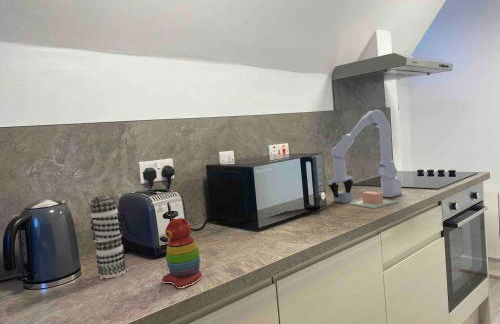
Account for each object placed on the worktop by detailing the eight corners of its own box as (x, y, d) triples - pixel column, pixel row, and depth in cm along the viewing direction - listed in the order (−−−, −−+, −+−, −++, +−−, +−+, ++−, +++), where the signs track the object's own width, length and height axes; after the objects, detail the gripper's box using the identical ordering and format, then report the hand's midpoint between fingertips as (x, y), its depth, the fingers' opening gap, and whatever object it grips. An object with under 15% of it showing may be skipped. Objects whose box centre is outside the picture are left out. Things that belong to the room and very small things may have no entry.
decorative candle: (133, 271, 119) (122, 194, 117) (104, 282, 113) (92, 200, 111) (121, 266, 125) (110, 193, 124) (93, 276, 119) (81, 198, 117)
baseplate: (372, 198, 188) (372, 197, 188) (398, 202, 174) (397, 200, 173) (349, 204, 181) (349, 202, 181) (373, 208, 167) (373, 206, 167)
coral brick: (369, 200, 182) (368, 191, 182) (383, 202, 174) (382, 192, 174) (363, 201, 181) (362, 192, 180) (376, 204, 173) (376, 194, 172)
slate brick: (340, 199, 196) (339, 191, 196) (351, 201, 188) (351, 192, 188) (334, 201, 194) (333, 192, 194) (345, 203, 186) (344, 194, 186)
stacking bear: (159, 282, 107) (151, 221, 106) (188, 270, 114) (181, 213, 113) (180, 290, 99) (172, 224, 98) (210, 277, 106) (202, 215, 105)
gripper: (345, 167, 197) (348, 193, 198) (323, 171, 190) (325, 198, 191) (354, 168, 190) (357, 194, 191) (332, 172, 184) (334, 199, 185)
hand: (342, 196), depth 191 cm, fingers open, 7 cm apart
